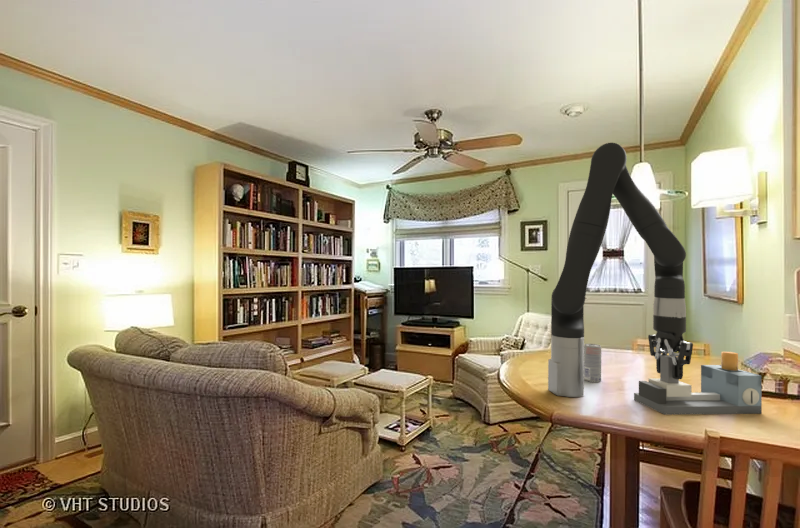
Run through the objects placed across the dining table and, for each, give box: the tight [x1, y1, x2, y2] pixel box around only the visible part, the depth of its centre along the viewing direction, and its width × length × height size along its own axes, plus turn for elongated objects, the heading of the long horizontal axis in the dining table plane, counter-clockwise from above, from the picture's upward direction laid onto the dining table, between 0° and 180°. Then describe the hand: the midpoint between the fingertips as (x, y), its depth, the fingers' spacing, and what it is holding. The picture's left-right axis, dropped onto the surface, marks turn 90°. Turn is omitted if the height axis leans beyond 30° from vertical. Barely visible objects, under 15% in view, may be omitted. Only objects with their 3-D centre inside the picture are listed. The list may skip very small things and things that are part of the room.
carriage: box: [648, 354, 693, 397], centre depth 111 cm, size 7×7×10 cm
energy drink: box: [584, 343, 602, 383], centre depth 137 cm, size 5×5×12 cm
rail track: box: [633, 364, 763, 416], centre depth 111 cm, size 27×12×10 cm, turn 94°
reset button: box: [720, 351, 739, 371], centre depth 112 cm, size 4×4×4 cm
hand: (669, 375), depth 111 cm, fingers open, 5 cm apart
